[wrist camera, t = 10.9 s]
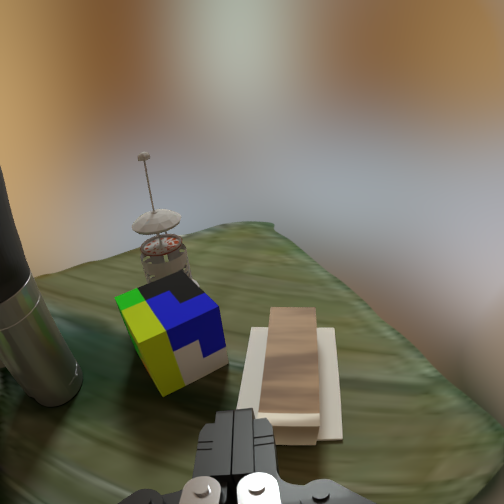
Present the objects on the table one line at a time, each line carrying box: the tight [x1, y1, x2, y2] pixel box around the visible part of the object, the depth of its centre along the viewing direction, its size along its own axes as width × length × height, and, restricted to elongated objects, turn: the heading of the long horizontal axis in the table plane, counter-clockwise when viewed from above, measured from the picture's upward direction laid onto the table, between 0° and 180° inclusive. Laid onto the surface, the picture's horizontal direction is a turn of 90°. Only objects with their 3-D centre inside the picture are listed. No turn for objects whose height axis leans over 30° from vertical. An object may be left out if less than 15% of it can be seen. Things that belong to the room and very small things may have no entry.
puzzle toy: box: [115, 270, 229, 397], centre depth 39 cm, size 10×10×10 cm
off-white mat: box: [237, 327, 343, 441], centre depth 37 cm, size 18×12×1 cm, turn 173°
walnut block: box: [257, 307, 320, 445], centre depth 35 cm, size 4×6×18 cm
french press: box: [132, 152, 199, 287], centre depth 50 cm, size 10×12×25 cm
